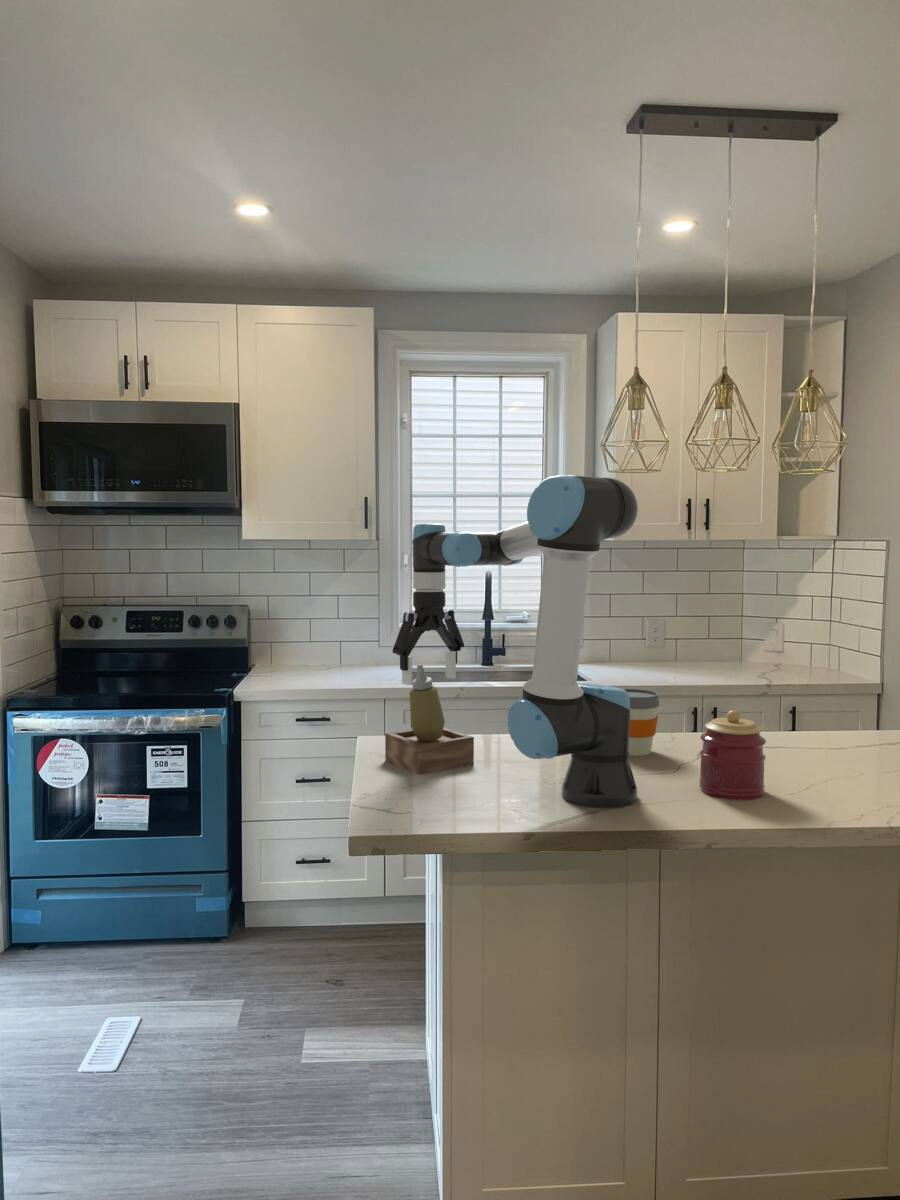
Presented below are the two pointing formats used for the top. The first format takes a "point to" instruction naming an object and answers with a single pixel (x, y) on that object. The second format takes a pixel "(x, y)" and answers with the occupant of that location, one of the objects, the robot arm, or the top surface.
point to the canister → (732, 759)
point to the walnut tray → (429, 751)
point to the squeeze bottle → (425, 708)
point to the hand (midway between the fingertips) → (429, 681)
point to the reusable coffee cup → (642, 720)
